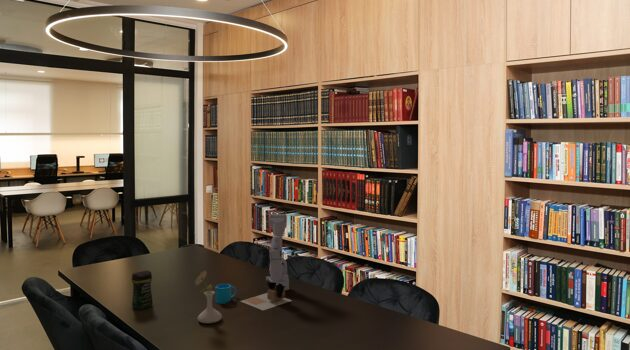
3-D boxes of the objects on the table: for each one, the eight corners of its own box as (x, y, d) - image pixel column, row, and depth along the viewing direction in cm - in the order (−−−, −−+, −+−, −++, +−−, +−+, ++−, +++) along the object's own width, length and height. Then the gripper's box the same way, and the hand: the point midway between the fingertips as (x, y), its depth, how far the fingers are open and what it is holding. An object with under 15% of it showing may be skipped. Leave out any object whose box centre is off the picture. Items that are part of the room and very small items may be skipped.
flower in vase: (212, 314, 227) (211, 264, 225) (227, 320, 219) (226, 268, 218) (189, 322, 217) (188, 270, 215) (204, 328, 209) (203, 275, 207)
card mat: (269, 293, 258) (269, 292, 258) (292, 301, 245) (292, 300, 245) (240, 302, 244) (240, 301, 243) (263, 311, 230) (263, 310, 230)
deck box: (278, 295, 249) (278, 286, 249) (285, 297, 246) (284, 288, 245) (267, 299, 243) (267, 290, 243) (273, 301, 240) (273, 292, 239)
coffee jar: (137, 311, 231) (136, 275, 230) (130, 307, 236) (128, 272, 235) (155, 306, 238) (154, 271, 237) (147, 302, 243) (146, 268, 242)
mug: (220, 304, 240) (220, 289, 239) (213, 300, 246) (212, 285, 246) (240, 299, 248) (240, 285, 247) (232, 295, 254) (232, 281, 253)
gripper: (261, 270, 245) (261, 294, 247) (279, 275, 235) (279, 301, 236) (271, 267, 251) (271, 291, 252) (289, 272, 240) (289, 298, 242)
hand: (276, 296), depth 244 cm, fingers closed on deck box, 5 cm apart
